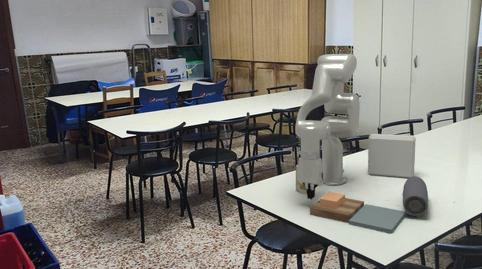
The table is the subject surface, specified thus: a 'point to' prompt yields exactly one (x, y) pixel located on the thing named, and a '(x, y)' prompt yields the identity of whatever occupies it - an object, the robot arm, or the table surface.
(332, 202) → the tile
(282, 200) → the table surface
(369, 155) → the bevelled white case
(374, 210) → the mat
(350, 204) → the wooden board
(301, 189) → the skincare box
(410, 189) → the bluetooth speaker
